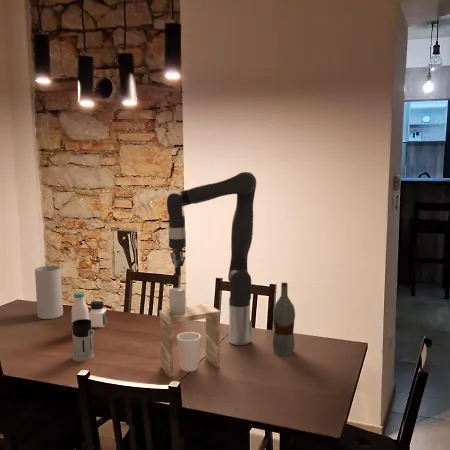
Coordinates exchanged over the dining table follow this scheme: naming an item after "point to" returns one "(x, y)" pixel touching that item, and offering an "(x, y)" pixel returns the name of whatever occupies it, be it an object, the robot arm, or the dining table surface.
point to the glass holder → (82, 340)
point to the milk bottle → (79, 308)
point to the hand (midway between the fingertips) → (177, 274)
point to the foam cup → (189, 350)
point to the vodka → (283, 324)
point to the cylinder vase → (49, 292)
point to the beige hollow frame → (190, 315)
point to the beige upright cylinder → (177, 301)
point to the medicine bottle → (97, 314)
